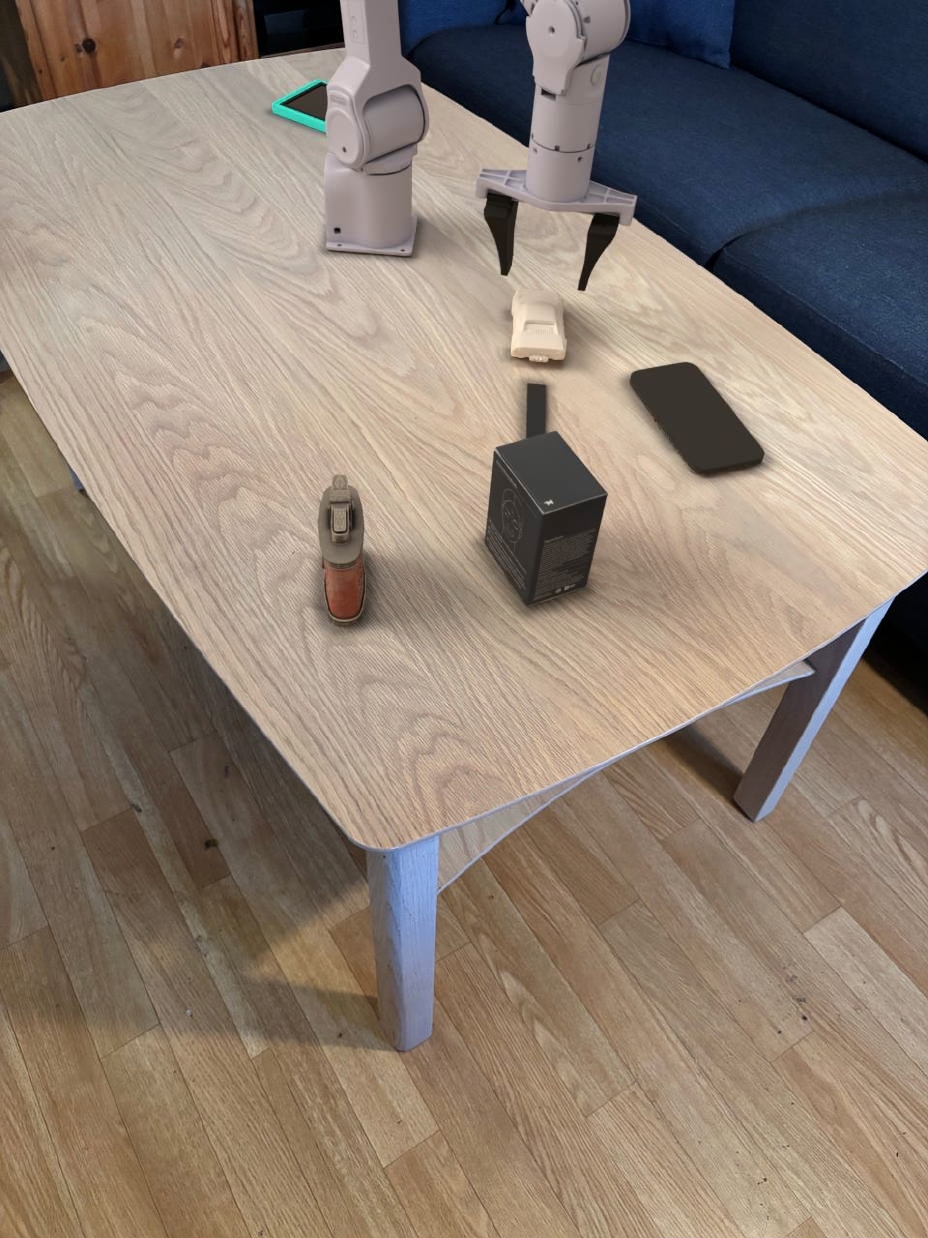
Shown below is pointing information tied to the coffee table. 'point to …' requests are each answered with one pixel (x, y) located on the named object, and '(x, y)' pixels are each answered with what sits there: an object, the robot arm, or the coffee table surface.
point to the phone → (696, 418)
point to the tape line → (536, 410)
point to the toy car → (538, 325)
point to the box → (543, 516)
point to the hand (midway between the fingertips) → (544, 277)
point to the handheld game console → (305, 105)
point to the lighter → (342, 552)
